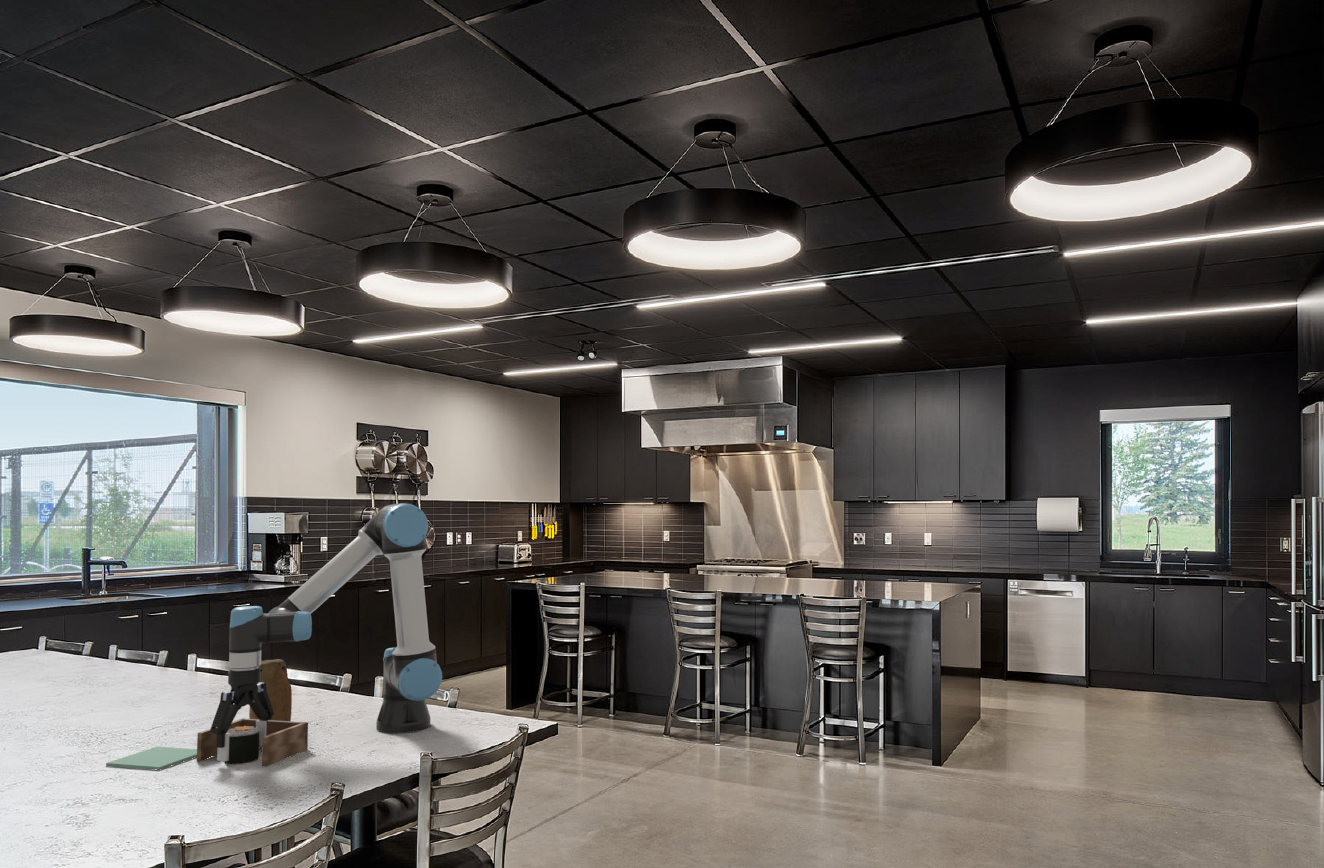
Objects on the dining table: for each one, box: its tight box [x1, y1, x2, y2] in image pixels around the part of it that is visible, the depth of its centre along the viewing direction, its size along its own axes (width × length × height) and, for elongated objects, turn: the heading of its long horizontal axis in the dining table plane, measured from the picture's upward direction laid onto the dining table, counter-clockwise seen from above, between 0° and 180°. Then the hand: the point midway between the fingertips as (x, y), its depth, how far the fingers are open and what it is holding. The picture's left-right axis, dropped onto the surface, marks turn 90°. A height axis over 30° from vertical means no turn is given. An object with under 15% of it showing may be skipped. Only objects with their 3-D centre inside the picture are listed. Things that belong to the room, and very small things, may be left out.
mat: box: [105, 746, 197, 771], centre depth 230 cm, size 16×16×1 cm
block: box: [248, 658, 293, 721], centre depth 260 cm, size 11×8×20 cm
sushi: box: [224, 725, 260, 765], centre depth 230 cm, size 8×8×8 cm
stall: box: [196, 718, 309, 767], centre depth 234 cm, size 16×20×7 cm
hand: (242, 753), depth 230 cm, fingers open, 13 cm apart
